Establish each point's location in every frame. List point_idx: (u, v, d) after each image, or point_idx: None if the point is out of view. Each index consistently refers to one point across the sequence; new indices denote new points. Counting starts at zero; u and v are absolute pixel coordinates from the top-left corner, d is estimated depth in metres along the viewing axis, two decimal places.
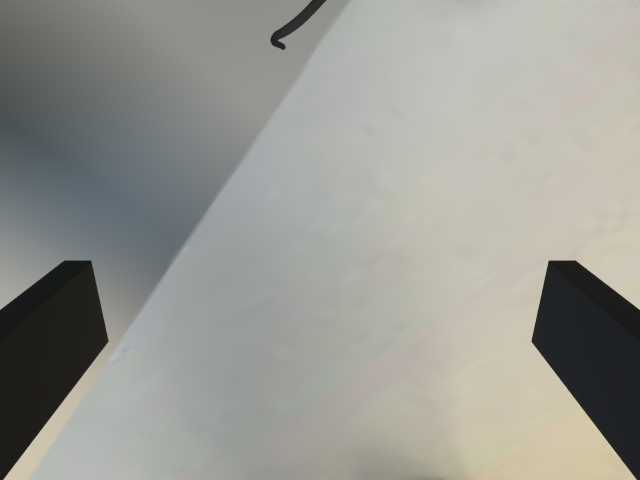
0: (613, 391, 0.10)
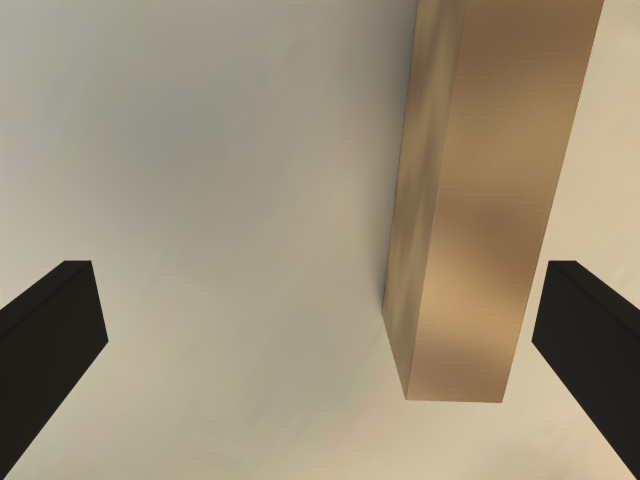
0: (613, 391, 0.10)
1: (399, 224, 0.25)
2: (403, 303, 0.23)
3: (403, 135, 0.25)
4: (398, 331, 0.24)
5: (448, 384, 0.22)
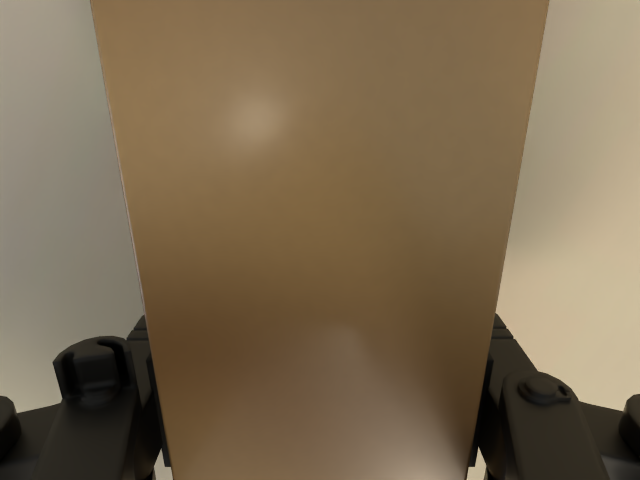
0: None
1: None
2: None
3: None
4: None
5: None
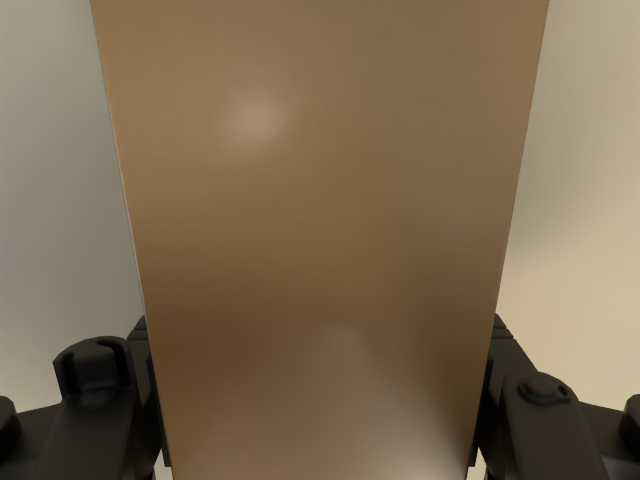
0: None
1: None
2: None
3: None
4: None
5: None
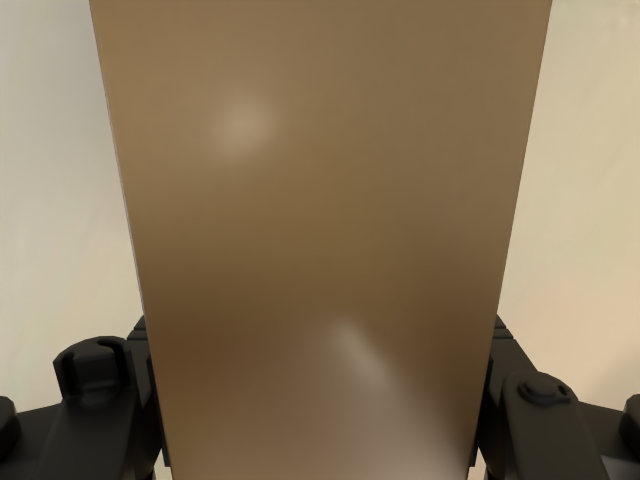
0: None
1: None
2: None
3: None
4: None
5: None
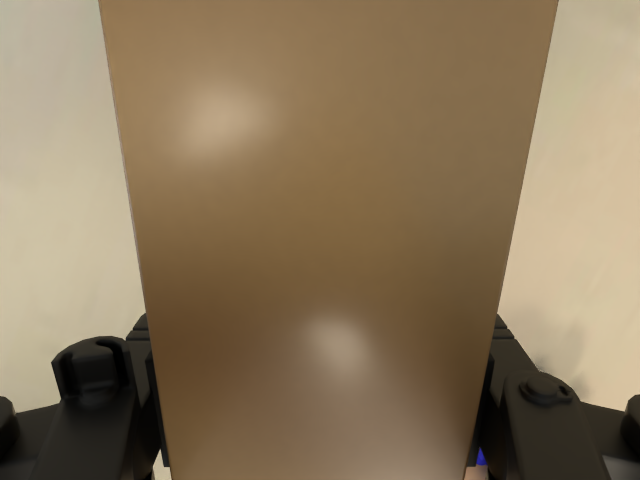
0: None
1: None
2: None
3: None
4: None
5: None
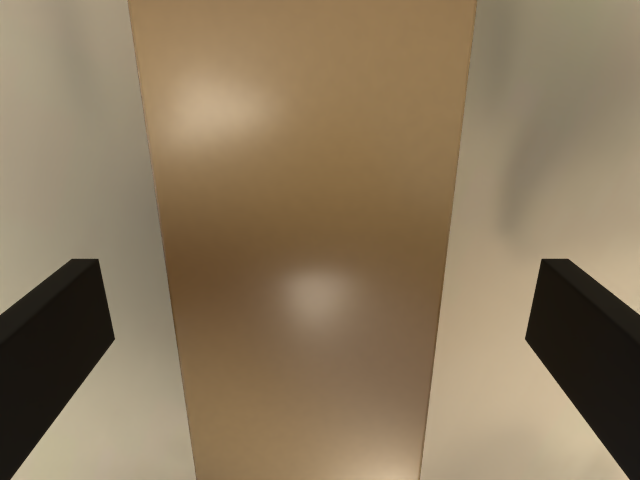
0: (603, 387, 0.10)
1: None
2: None
3: None
4: None
5: None
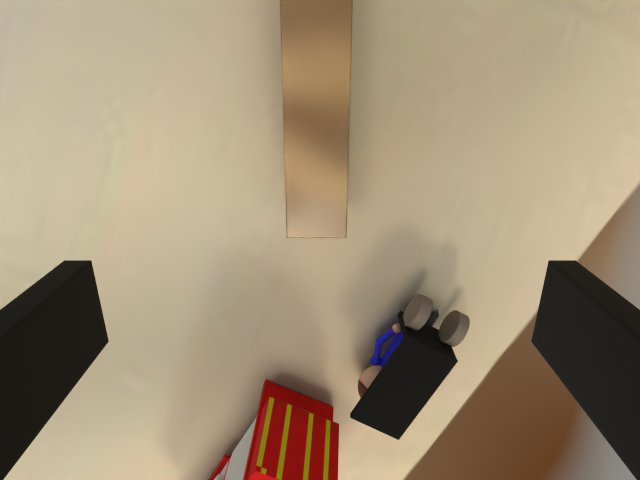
0: (613, 391, 0.10)
1: None
2: None
3: None
4: None
5: (310, 225, 0.36)
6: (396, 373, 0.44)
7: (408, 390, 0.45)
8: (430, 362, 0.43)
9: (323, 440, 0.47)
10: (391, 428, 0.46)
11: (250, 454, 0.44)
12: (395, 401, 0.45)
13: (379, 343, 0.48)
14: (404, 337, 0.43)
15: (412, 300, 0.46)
